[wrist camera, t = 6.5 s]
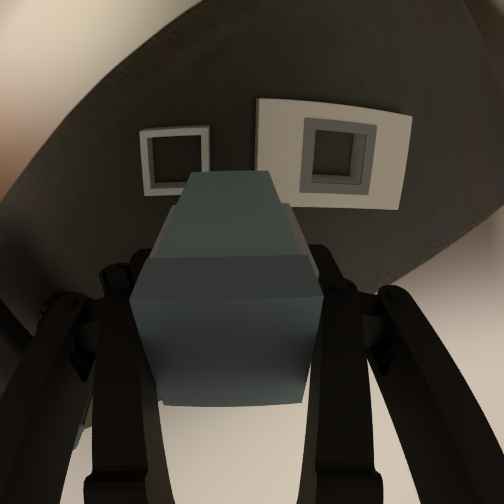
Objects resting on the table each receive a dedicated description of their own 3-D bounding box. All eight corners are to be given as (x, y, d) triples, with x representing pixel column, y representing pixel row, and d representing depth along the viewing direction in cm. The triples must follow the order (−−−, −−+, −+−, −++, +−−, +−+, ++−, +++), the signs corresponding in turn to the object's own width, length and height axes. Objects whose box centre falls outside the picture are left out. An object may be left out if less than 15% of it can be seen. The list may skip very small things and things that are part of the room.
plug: (194, 242, 20) (163, 405, 10) (188, 169, 18) (129, 299, 7) (268, 240, 20) (301, 402, 10) (271, 168, 18) (323, 296, 8)
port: (253, 196, 38) (256, 207, 35) (256, 98, 32) (259, 98, 29) (386, 200, 39) (398, 210, 36) (398, 113, 34) (413, 116, 30)
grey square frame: (149, 189, 36) (144, 196, 34) (145, 128, 33) (139, 131, 31) (210, 187, 37) (209, 193, 35) (209, 125, 33) (208, 127, 31)
